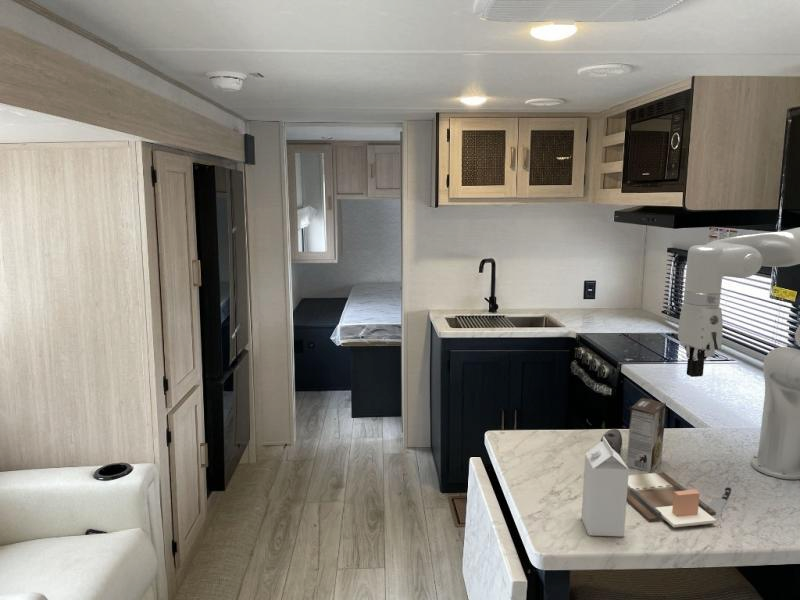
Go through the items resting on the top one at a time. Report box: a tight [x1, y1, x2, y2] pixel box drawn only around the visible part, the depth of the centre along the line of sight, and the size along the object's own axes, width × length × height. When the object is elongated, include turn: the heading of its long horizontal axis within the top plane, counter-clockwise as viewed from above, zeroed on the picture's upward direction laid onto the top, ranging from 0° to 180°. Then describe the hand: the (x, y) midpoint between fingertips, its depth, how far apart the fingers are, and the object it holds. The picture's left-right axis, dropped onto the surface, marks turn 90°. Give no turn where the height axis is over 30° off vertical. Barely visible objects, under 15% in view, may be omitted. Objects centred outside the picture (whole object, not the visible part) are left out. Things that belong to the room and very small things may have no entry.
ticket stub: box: [656, 489, 717, 528], centre depth 131 cm, size 10×7×6 cm
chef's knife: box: [709, 487, 732, 523], centre depth 138 cm, size 19×1×3 cm
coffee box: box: [626, 397, 667, 473], centre depth 157 cm, size 9×6×16 cm
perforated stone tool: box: [600, 428, 623, 455], centre depth 163 cm, size 15×5×7 cm, turn 150°
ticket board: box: [626, 472, 716, 523], centre depth 141 cm, size 16×19×2 cm
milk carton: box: [580, 435, 630, 537], centre depth 127 cm, size 7×7×19 cm
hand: (694, 375), depth 144 cm, fingers closed
